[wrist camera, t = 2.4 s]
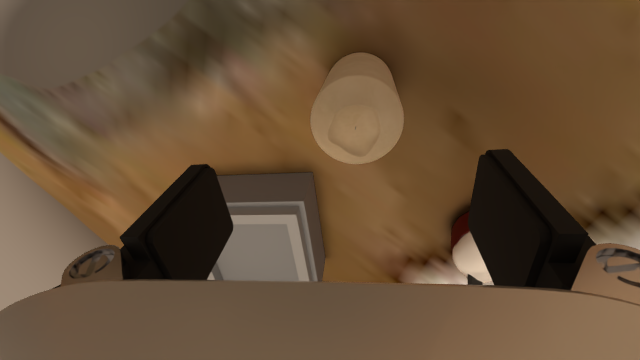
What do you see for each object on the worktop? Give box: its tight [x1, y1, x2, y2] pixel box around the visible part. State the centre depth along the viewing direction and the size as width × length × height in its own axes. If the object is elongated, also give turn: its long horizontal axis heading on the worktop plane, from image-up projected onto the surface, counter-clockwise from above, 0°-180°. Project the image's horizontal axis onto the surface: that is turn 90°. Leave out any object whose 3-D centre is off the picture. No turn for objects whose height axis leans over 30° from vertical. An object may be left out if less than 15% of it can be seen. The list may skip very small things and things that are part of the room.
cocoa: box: [451, 212, 492, 285], centre depth 25 cm, size 10×6×12 cm, turn 128°
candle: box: [310, 52, 404, 164], centre depth 21 cm, size 6×6×10 cm
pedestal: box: [207, 172, 325, 282], centre depth 31 cm, size 12×12×6 cm
